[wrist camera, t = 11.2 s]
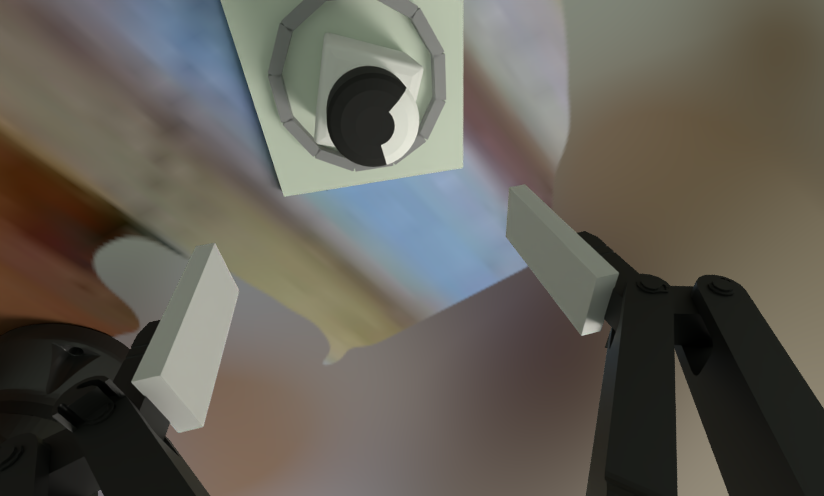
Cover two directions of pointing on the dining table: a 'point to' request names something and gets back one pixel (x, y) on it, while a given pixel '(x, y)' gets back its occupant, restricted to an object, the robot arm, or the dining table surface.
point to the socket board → (300, 71)
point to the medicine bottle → (367, 100)
